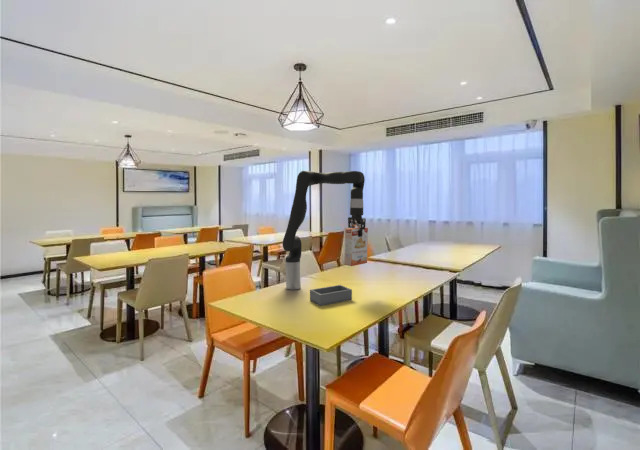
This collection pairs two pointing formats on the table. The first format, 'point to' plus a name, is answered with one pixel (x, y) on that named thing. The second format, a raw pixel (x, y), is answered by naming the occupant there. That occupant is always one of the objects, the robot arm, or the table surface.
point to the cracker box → (355, 247)
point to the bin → (330, 295)
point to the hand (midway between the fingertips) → (356, 236)
